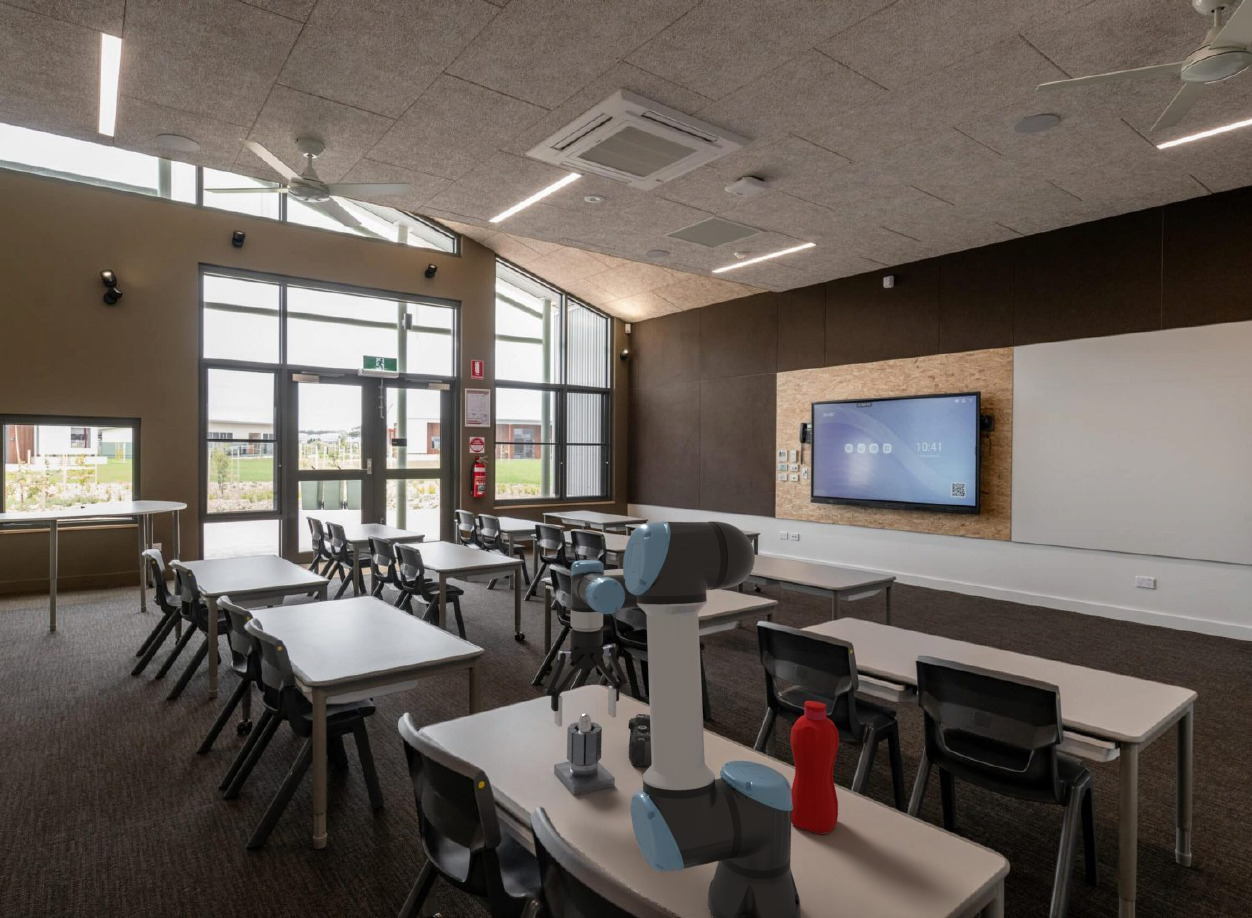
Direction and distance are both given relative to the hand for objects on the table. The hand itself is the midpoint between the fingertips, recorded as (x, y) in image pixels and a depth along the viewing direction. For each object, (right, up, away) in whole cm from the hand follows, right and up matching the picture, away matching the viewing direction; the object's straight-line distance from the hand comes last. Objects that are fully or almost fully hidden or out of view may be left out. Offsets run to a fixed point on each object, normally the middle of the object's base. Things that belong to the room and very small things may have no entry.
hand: (585, 720), depth 158 cm
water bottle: (+49, -15, -16) cm, 53 cm away
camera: (+14, -15, +14) cm, 24 cm away
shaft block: (0, -14, +1) cm, 14 cm away
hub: (0, -9, +1) cm, 9 cm away
